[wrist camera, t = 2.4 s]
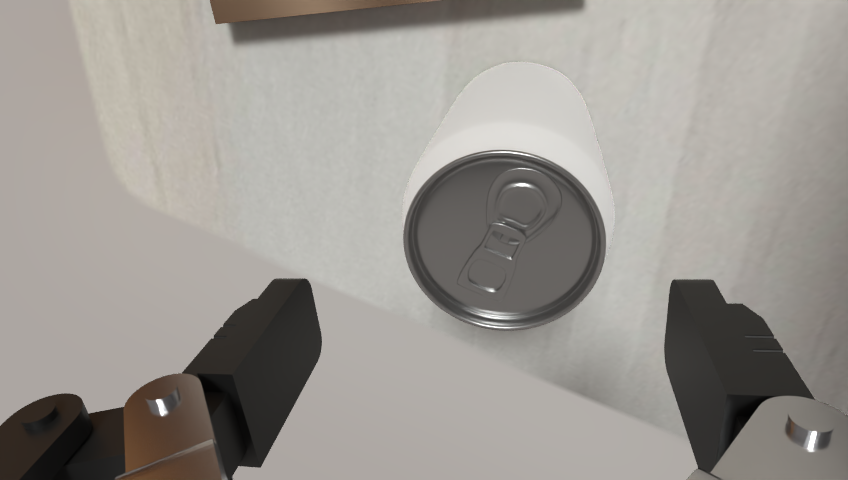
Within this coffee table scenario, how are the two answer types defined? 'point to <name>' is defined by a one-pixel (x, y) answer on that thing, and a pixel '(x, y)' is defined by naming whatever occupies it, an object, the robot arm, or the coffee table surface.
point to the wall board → (289, 8)
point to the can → (510, 202)
